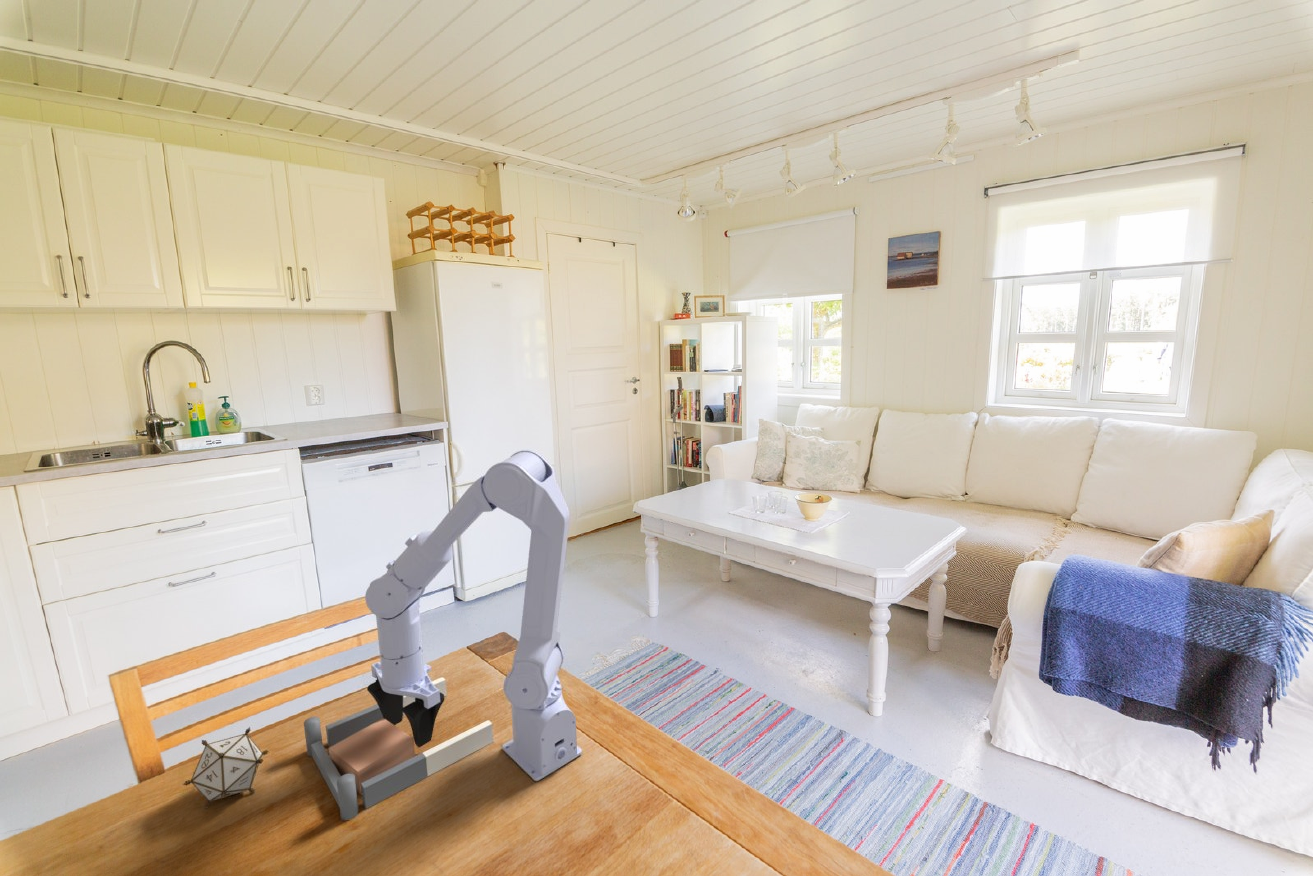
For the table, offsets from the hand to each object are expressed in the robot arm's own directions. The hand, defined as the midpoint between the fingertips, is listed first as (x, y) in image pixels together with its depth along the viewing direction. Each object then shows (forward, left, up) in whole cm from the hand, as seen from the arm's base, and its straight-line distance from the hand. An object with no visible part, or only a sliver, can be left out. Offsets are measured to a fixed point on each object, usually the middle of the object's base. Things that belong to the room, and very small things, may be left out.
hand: (409, 733), depth 86 cm
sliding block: (-1, +5, -2) cm, 6 cm away
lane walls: (0, -4, -2) cm, 4 cm away
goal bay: (0, +6, -2) cm, 6 cm away
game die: (+7, +21, -2) cm, 22 cm away
